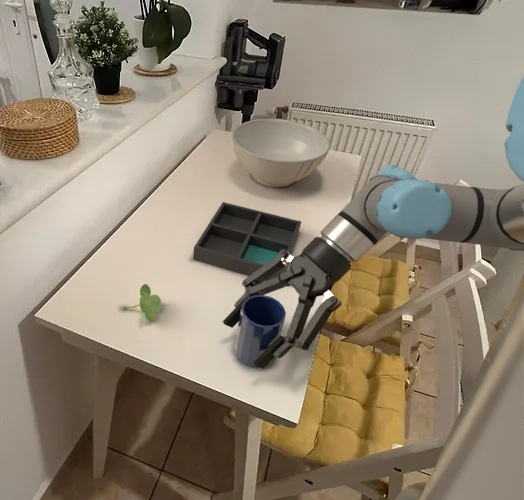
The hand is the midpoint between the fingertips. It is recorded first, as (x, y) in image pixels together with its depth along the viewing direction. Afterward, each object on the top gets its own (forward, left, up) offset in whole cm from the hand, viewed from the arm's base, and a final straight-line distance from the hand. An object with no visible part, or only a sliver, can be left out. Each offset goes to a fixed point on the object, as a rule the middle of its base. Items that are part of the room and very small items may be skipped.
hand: (242, 344), depth 75 cm
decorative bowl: (+50, -44, -4) cm, 67 cm away
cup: (0, -3, -4) cm, 5 cm away
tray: (+26, -19, -4) cm, 33 cm away
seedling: (+18, +11, -4) cm, 21 cm away
